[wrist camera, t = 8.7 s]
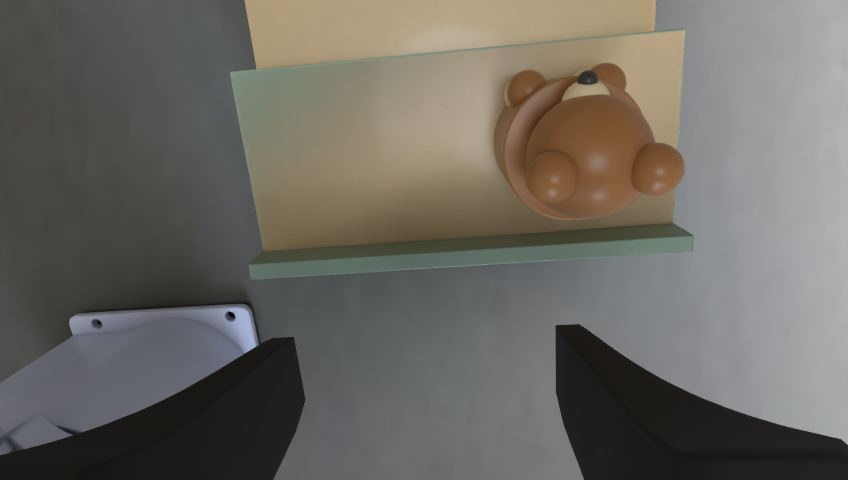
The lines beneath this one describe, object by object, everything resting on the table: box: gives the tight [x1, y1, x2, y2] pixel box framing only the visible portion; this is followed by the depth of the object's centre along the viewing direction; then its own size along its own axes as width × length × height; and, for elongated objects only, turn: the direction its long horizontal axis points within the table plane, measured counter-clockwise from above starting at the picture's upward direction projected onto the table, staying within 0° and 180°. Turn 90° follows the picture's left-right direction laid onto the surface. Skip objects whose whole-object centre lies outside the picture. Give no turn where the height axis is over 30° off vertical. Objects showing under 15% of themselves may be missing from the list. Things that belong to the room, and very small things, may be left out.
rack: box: [230, 0, 694, 280], centre depth 18 cm, size 15×14×6 cm
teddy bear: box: [494, 63, 685, 220], centre depth 13 cm, size 4×4×6 cm
